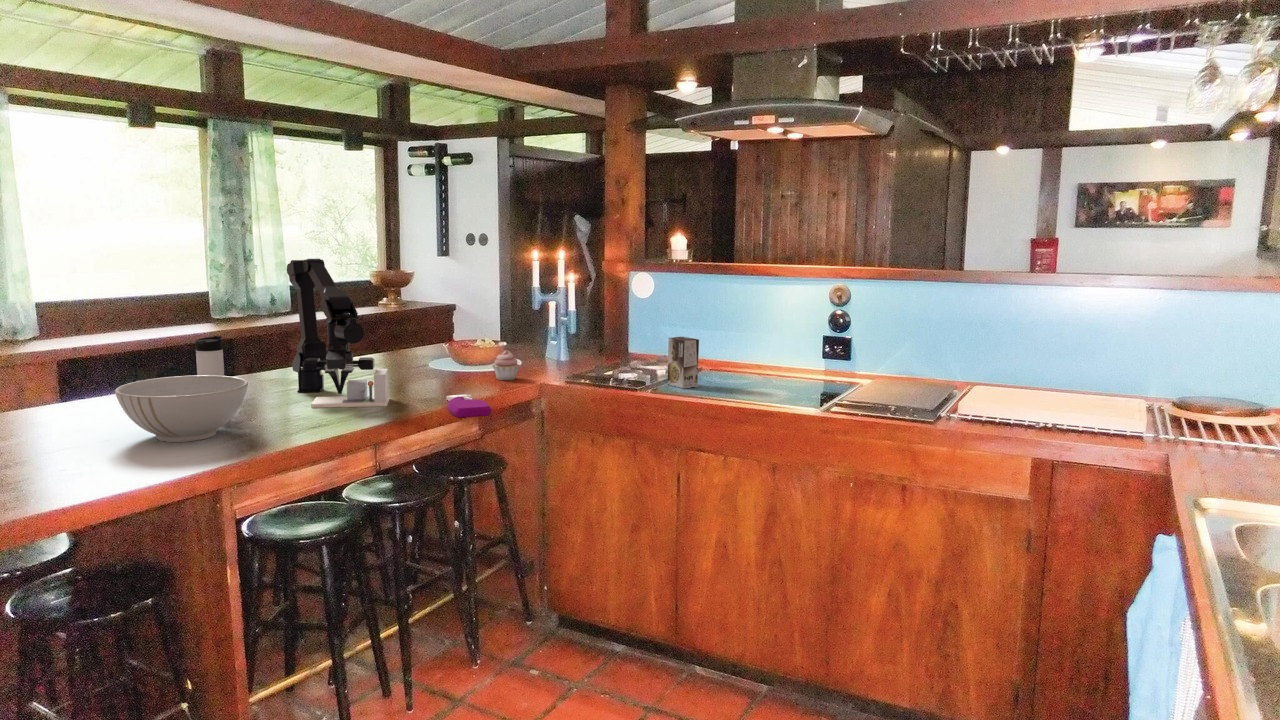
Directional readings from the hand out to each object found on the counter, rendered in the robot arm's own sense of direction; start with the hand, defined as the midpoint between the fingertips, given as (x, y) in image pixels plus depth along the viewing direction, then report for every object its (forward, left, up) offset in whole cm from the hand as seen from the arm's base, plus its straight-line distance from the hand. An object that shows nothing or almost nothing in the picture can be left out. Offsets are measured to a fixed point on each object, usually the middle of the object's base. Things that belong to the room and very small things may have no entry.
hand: (340, 393), depth 226 cm
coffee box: (+106, +15, -3) cm, 107 cm away
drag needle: (+9, -4, -1) cm, 10 cm away
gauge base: (+4, -1, -2) cm, 5 cm away
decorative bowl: (-30, -34, -3) cm, 46 cm away
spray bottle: (+35, -11, -3) cm, 37 cm away
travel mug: (-31, -8, -3) cm, 32 cm away
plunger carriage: (+5, -2, -1) cm, 5 cm away
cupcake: (+49, +33, -3) cm, 59 cm away
